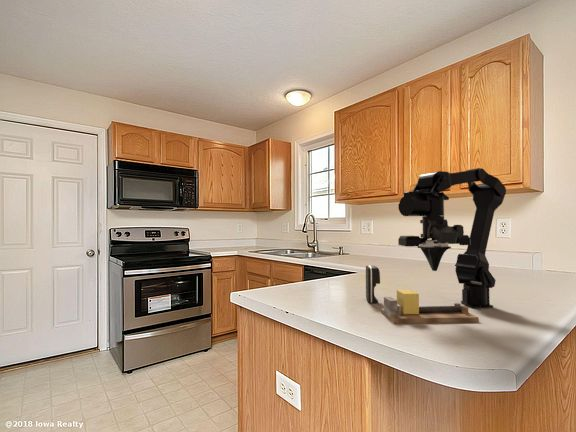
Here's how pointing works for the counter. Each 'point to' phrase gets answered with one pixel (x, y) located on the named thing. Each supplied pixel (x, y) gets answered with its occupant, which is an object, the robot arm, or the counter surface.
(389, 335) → the counter surface
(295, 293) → the counter surface
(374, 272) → the black silver-edged device
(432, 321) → the sliding clamp fixture
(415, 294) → the pale yellow cube
